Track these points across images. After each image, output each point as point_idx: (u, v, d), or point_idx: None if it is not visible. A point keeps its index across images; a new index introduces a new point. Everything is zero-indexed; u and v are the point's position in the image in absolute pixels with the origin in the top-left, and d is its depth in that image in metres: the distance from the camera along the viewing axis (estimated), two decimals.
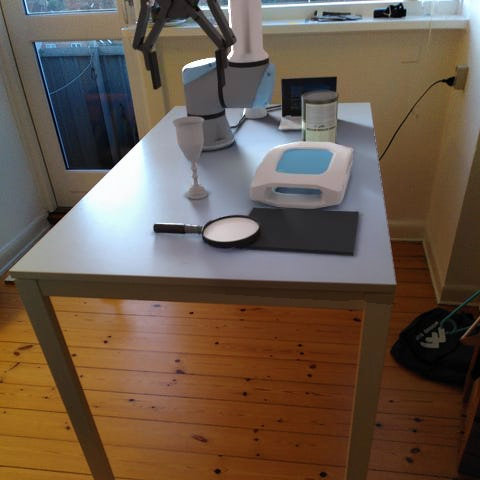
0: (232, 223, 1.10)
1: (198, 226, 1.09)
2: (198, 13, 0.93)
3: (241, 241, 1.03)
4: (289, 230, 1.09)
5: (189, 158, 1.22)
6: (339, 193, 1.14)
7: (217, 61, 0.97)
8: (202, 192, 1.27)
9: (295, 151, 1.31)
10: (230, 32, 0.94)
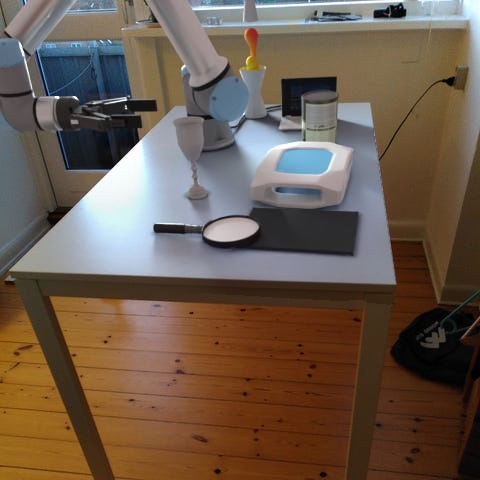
0: (232, 223, 1.10)
1: (198, 226, 1.09)
2: None
3: (241, 241, 1.03)
4: (289, 230, 1.09)
5: (189, 158, 1.22)
6: (339, 193, 1.14)
7: None
8: (202, 192, 1.27)
9: (295, 151, 1.31)
10: (96, 126, 1.12)
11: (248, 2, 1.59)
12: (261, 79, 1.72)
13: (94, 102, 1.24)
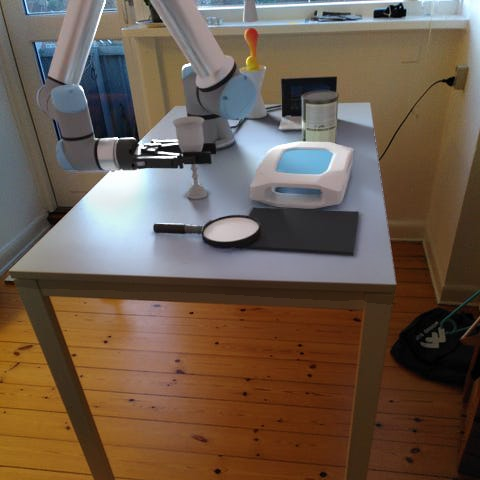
0: (232, 223, 1.10)
1: (198, 226, 1.09)
2: None
3: (241, 241, 1.03)
4: (289, 230, 1.09)
5: None
6: (339, 193, 1.14)
7: None
8: (202, 192, 1.27)
9: (295, 151, 1.31)
10: (168, 164, 1.18)
11: (248, 2, 1.59)
12: (261, 79, 1.72)
13: (154, 142, 1.27)
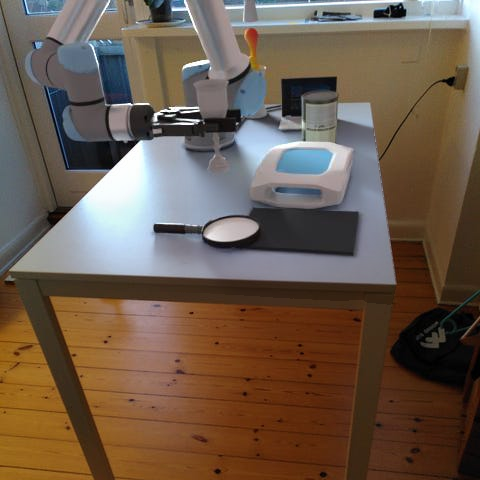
0: (232, 223, 1.10)
1: (198, 226, 1.09)
2: None
3: (241, 241, 1.03)
4: (289, 230, 1.09)
5: None
6: (339, 193, 1.14)
7: None
8: (224, 165, 1.14)
9: (295, 151, 1.31)
10: (188, 132, 1.05)
11: (248, 2, 1.59)
12: None
13: (171, 109, 1.14)
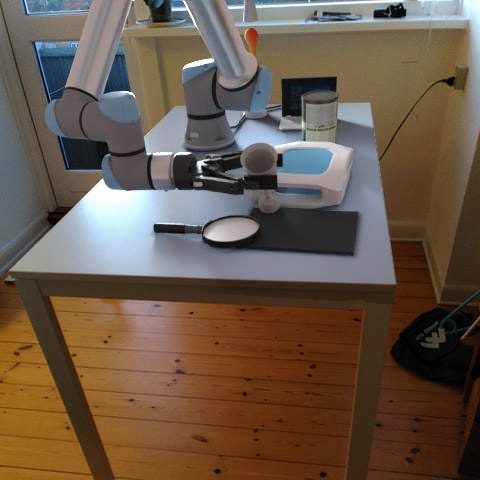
0: (232, 223, 1.10)
1: (198, 226, 1.09)
2: None
3: (241, 241, 1.03)
4: (289, 230, 1.09)
5: None
6: (339, 193, 1.14)
7: None
8: (275, 205, 1.15)
9: (295, 151, 1.31)
10: (227, 189, 0.99)
11: (248, 2, 1.59)
12: None
13: (211, 156, 1.10)
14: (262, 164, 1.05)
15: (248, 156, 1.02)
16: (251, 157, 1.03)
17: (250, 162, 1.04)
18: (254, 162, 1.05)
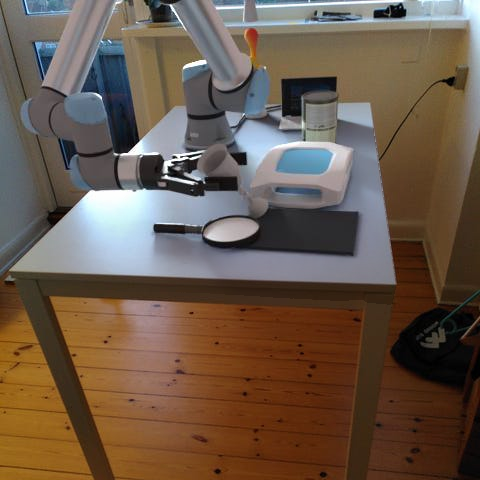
0: (232, 223, 1.10)
1: (198, 226, 1.09)
2: None
3: (241, 241, 1.03)
4: (289, 230, 1.09)
5: None
6: (339, 193, 1.14)
7: None
8: (263, 205, 1.13)
9: (295, 151, 1.31)
10: (188, 191, 1.00)
11: (248, 2, 1.59)
12: None
13: (178, 156, 1.12)
14: None
15: (206, 165, 1.04)
16: (210, 166, 1.05)
17: None
18: None
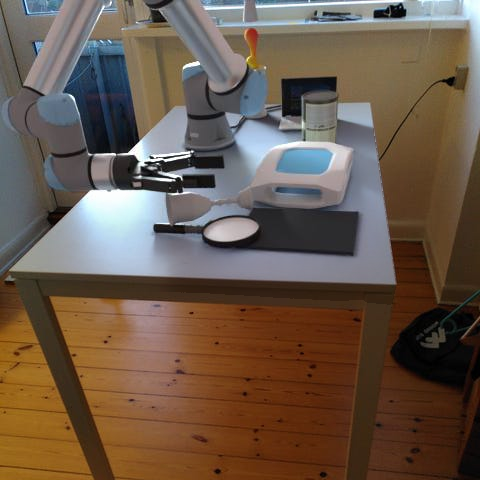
0: (232, 223, 1.10)
1: (198, 226, 1.09)
2: None
3: (241, 241, 1.03)
4: (289, 230, 1.09)
5: (208, 208, 1.10)
6: (339, 193, 1.14)
7: None
8: (246, 194, 1.11)
9: (295, 151, 1.31)
10: (166, 188, 1.02)
11: (248, 2, 1.59)
12: None
13: (154, 157, 1.12)
14: None
15: None
16: None
17: None
18: None
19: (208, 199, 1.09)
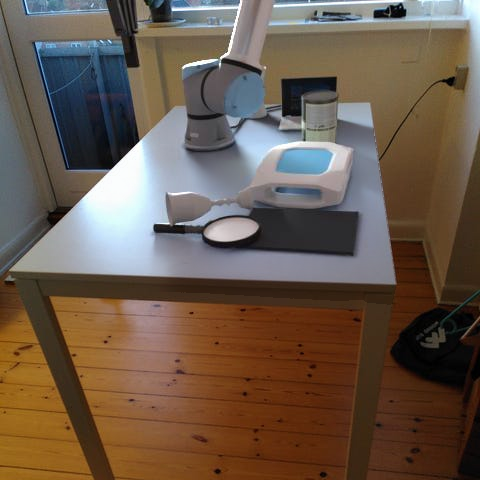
0: (232, 223, 1.10)
1: (198, 226, 1.09)
2: None
3: (241, 241, 1.03)
4: (289, 230, 1.09)
5: (208, 208, 1.10)
6: (339, 193, 1.14)
7: None
8: (246, 193, 1.11)
9: (295, 151, 1.31)
10: (116, 25, 1.11)
11: None
12: None
13: None
14: None
15: None
16: None
17: None
18: None
19: (208, 199, 1.09)
